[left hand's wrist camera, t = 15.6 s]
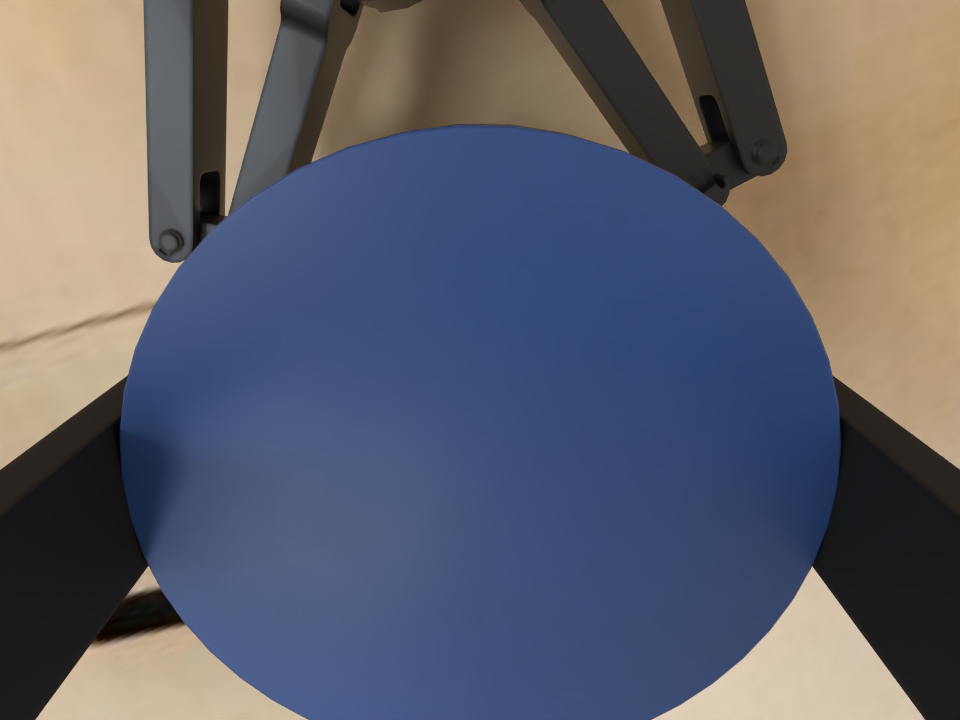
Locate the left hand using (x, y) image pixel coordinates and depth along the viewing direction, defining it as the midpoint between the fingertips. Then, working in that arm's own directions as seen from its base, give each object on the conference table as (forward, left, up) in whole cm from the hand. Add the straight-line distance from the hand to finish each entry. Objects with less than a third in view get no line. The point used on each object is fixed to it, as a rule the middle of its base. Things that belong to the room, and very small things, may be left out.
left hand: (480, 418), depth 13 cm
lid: (0, 0, +3) cm, 3 cm away
